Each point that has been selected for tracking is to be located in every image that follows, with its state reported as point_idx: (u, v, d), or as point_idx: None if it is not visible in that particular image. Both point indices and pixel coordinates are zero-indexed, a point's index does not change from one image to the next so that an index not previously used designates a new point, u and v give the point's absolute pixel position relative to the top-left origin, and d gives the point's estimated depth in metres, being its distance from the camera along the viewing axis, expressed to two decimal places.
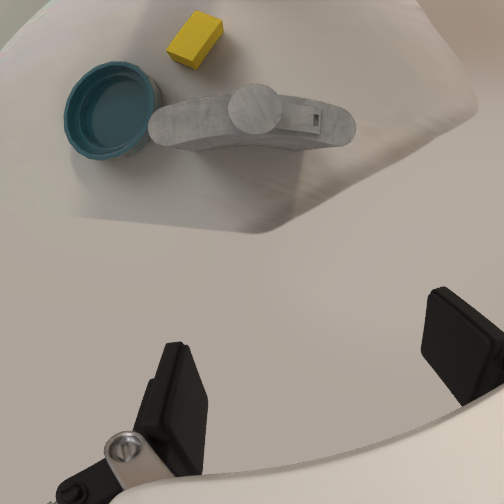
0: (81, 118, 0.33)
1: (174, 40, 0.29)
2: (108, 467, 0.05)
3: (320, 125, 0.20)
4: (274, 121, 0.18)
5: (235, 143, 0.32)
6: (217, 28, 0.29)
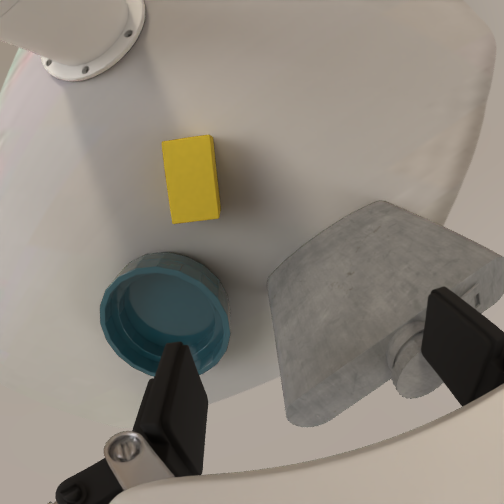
0: (135, 339, 0.30)
1: (172, 204, 0.24)
2: (108, 467, 0.05)
3: None
4: None
5: None
6: (211, 149, 0.23)
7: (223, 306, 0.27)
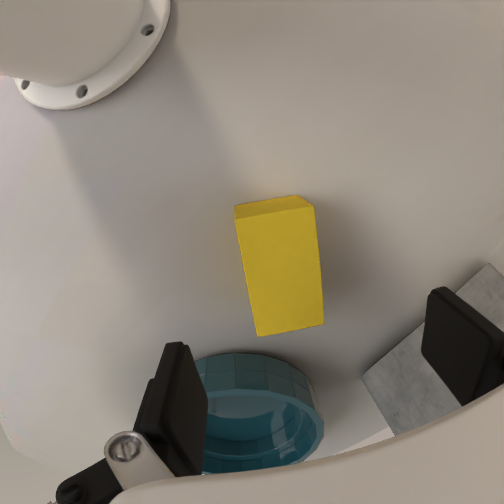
0: None
1: (256, 312, 0.16)
2: (108, 467, 0.05)
3: None
4: None
5: None
6: None
7: (319, 413, 0.19)
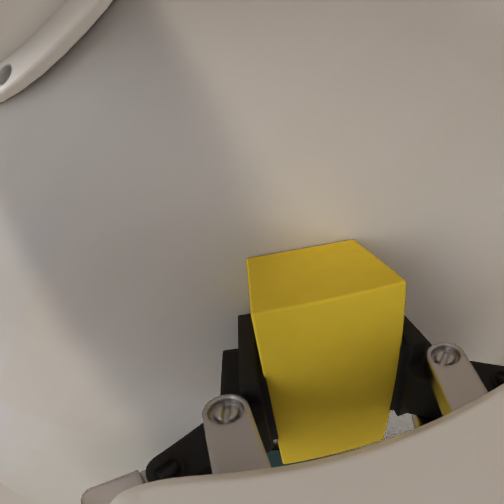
0: None
1: (285, 441, 0.08)
2: (203, 435, 0.06)
3: None
4: None
5: None
6: None
7: None
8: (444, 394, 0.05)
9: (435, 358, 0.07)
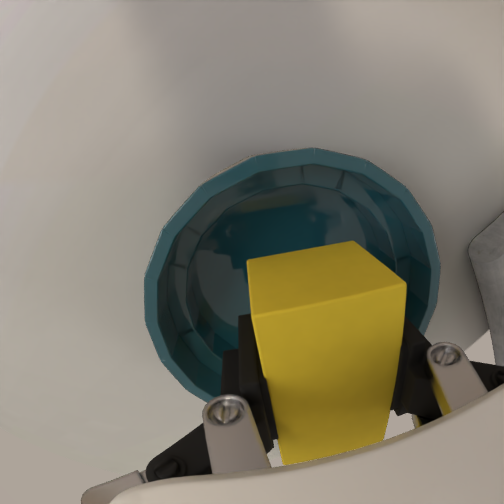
0: (219, 349, 0.15)
1: (285, 442, 0.08)
2: (203, 435, 0.06)
3: None
4: None
5: None
6: None
7: None
8: (444, 394, 0.05)
9: (435, 358, 0.07)
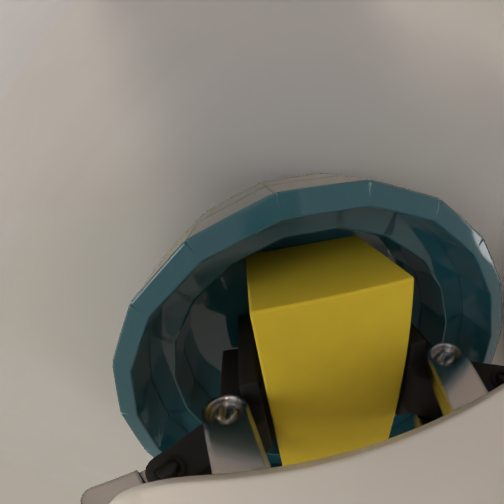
0: None
1: (285, 446, 0.08)
2: (203, 435, 0.06)
3: None
4: None
5: None
6: None
7: None
8: (444, 394, 0.05)
9: (435, 358, 0.07)
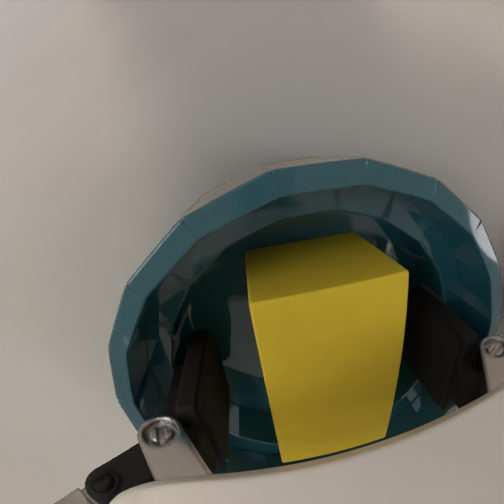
0: None
1: (284, 439, 0.08)
2: (140, 453, 0.06)
3: None
4: None
5: None
6: None
7: None
8: (502, 383, 0.05)
9: (487, 349, 0.06)
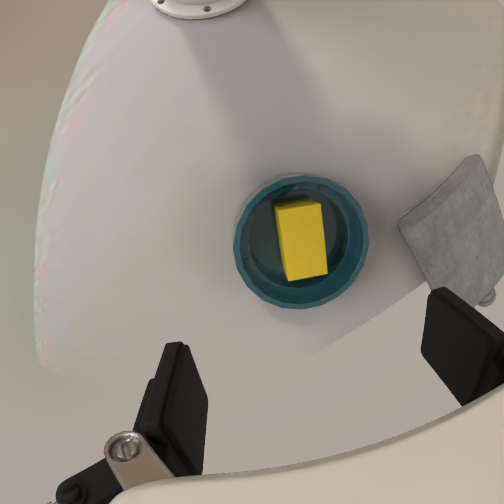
0: (261, 271, 0.31)
1: (288, 264, 0.28)
2: (108, 467, 0.05)
3: None
4: None
5: None
6: None
7: None
8: None
9: None
